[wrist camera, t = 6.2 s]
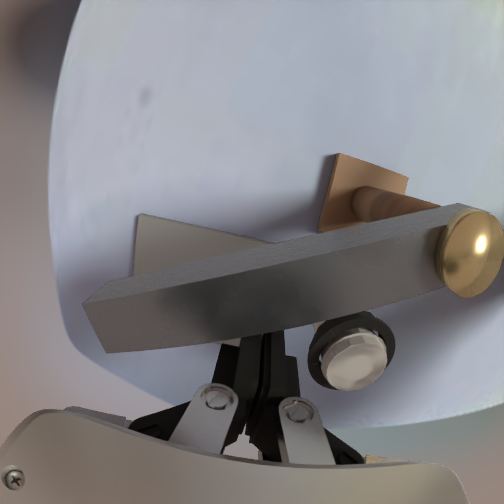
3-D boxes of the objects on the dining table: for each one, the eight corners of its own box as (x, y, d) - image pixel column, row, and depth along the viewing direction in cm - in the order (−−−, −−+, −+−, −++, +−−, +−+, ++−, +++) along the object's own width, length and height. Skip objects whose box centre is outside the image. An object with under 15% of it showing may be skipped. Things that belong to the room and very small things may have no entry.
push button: (374, 264, 23) (431, 325, 13) (362, 319, 24) (403, 394, 15) (298, 261, 23) (318, 328, 13) (291, 318, 24) (303, 402, 15)
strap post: (403, 176, 20) (486, 191, 10) (383, 245, 22) (451, 300, 12) (336, 153, 20) (395, 146, 10) (317, 228, 22) (357, 279, 12)
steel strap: (461, 259, 11) (501, 284, 8) (130, 332, 13) (102, 371, 10) (458, 193, 10) (504, 206, 7) (105, 273, 12) (67, 303, 9)
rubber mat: (286, 246, 22) (286, 248, 22) (256, 347, 25) (256, 351, 25) (141, 213, 22) (138, 214, 22) (133, 316, 25) (131, 319, 24)
